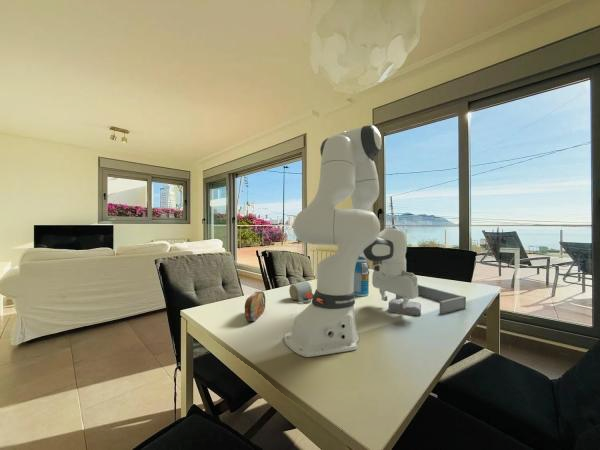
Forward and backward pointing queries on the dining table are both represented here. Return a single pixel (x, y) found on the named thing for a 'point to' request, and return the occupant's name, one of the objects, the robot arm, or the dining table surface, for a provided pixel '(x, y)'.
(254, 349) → the dining table surface
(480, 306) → the dining table surface
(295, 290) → the ceramic mug
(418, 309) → the stone block
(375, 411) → the dining table surface
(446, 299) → the box
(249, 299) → the tin
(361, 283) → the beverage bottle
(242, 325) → the dining table surface
